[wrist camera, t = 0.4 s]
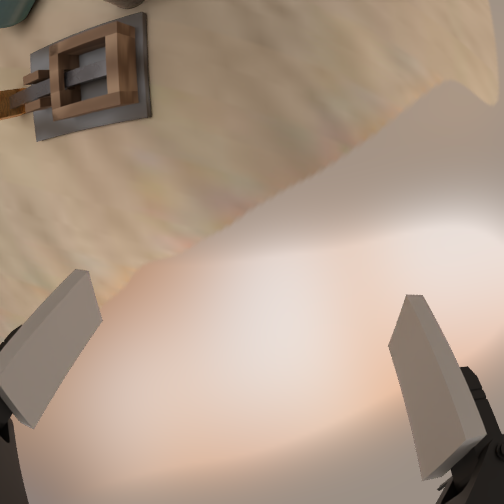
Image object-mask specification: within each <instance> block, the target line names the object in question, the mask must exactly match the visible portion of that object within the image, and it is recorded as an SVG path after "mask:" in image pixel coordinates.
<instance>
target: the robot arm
mask: <svg viewBox="0 0 504 504" xmlns="http://www.w3.org/2000/svg"><path fill="white" fill-rule="evenodd" d="M102 321H103V320H102V317H101V313H100V310H99V307H98V303H97V300H96V297H95V293H94V289H93V286H92V282H91V278H90V274H89V271H86V270H78V269H75V270H74V271H73V272H72V273H71V274H70V275H69V276H68V277H67V278H66V279H65V280H64V281H63V282H62V283H61V284H60V285H59V286H58V287H57V288H56V289H55V290H54V291H53V292H52V293H51V294H50V296H49V297H48V298H47V299H46V300H45V301H44V302H43V303H42V304H41V305H40V306H39V307H38V308H37V310H36V311H35V312H34V313H33V314H32V315H31V316H30V317H29V318H28V320H27V321H26V322H25V323H24V324H23V325H20V326H19V327H18V328H16V329H15V330H13V331H12V332H11V333H10V334H9V335H8V336H7V338H6V339H5V340H4V342H2V343H1V345H0V504H29V503H28V499H27V496H26V492H25V488H24V483H23V479H22V474H21V470H20V465H19V459H18V454H17V448H16V441H15V434H14V426H13V422H12V420H11V419H10V417H11V415H12V413H13V414H14V415H15V417H16V418H17V419H18V420H19V421H20V422H21V423H22V424H24V425H26V426H28V427H30V428H32V429H34V428H35V426H36V425H37V423H38V421H39V419H40V418H41V416H42V414H43V413H44V411H45V409H46V407H47V406H48V404H49V402H50V401H51V399H52V398H53V396H54V394H55V392H56V391H57V389H58V388H59V386H60V384H61V383H62V381H63V379H64V378H65V376H66V375H67V373H68V372H69V370H70V369H71V367H72V365H73V364H74V362H75V361H76V359H77V358H78V356H79V355H80V353H81V352H82V350H83V349H84V347H85V346H86V344H87V343H88V341H89V340H90V338H91V337H92V335H93V334H94V332H95V331H96V329H97V328H98V327H99V325H100V323H101V322H102ZM388 347H389V350H390V353H391V356H392V360H393V363H394V366H395V369H396V373H397V376H398V380H399V384H400V387H401V391H402V394H403V398H404V402H405V406H406V409H407V413H408V417H409V421H410V425H411V430H412V434H413V438H414V443H415V447H416V452H417V456H418V461H419V466H420V472H421V476H422V481H424V480H429V479H434V478H438V477H442V476H443V475H444V474H445V473H447V472H448V471H449V470H450V469H451V472H452V477H451V478H449V479H448V480H447V481H446V482H444V483H443V484H442V485H441V486H440V487H439V488H438V489H437V490H439V491H440V490H441V489H442V488H444V487H445V488H444V490H443V492H442V494H441V495H440V497H439V499H438V501H437V502H436V504H504V434H501V431H500V429H499V426H498V424H497V422H496V419H495V416H494V414H493V412H492V409H491V407H490V404H489V402H488V400H487V399H486V395H485V393H484V391H483V390H482V386H481V384H480V382H479V380H478V377H477V376H476V375H475V374H474V373H473V371H472V370H470V368H469V367H468V366H467V367H459V365H458V363H457V361H456V358H455V357H454V354H453V352H452V350H451V348H450V346H449V344H448V342H447V340H446V338H445V336H444V334H443V332H442V330H441V328H440V326H439V324H438V323H437V321H436V319H435V317H434V315H433V313H432V311H431V309H430V308H429V306H428V304H427V302H426V300H425V299H424V297H423V295H406V297H405V300H404V304H403V307H402V309H401V312H400V315H399V318H398V321H397V324H396V326H395V329H394V332H393V334H392V337H391V340H390V342H389V345H388Z"/></svg>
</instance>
